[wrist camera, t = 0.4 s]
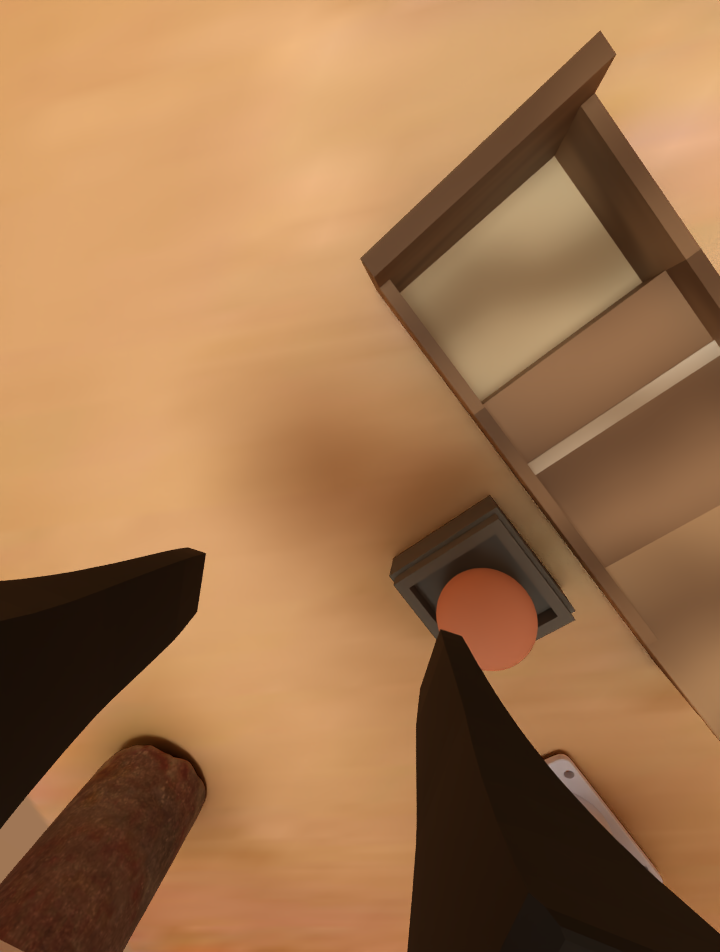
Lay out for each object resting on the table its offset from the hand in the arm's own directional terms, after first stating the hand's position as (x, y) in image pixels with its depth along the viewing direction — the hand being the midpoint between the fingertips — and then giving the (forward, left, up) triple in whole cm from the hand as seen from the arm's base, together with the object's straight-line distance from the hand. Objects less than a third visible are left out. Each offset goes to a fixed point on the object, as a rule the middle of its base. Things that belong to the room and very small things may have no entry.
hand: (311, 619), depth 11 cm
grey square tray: (-6, -3, -10) cm, 12 cm away
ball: (-6, -3, -6) cm, 8 cm away
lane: (-4, -12, -10) cm, 16 cm away
